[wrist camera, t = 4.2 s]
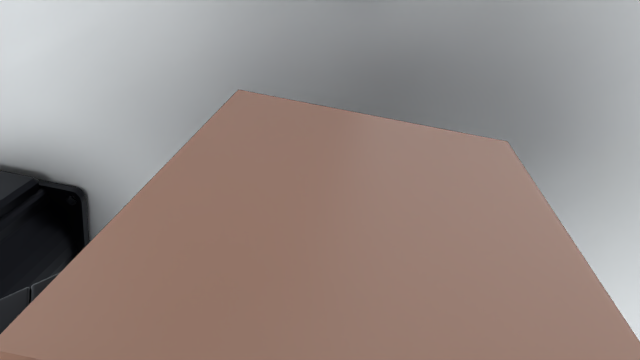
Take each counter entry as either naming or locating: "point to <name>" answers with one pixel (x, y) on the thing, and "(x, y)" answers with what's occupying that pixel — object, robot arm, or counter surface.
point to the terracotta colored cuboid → (327, 253)
